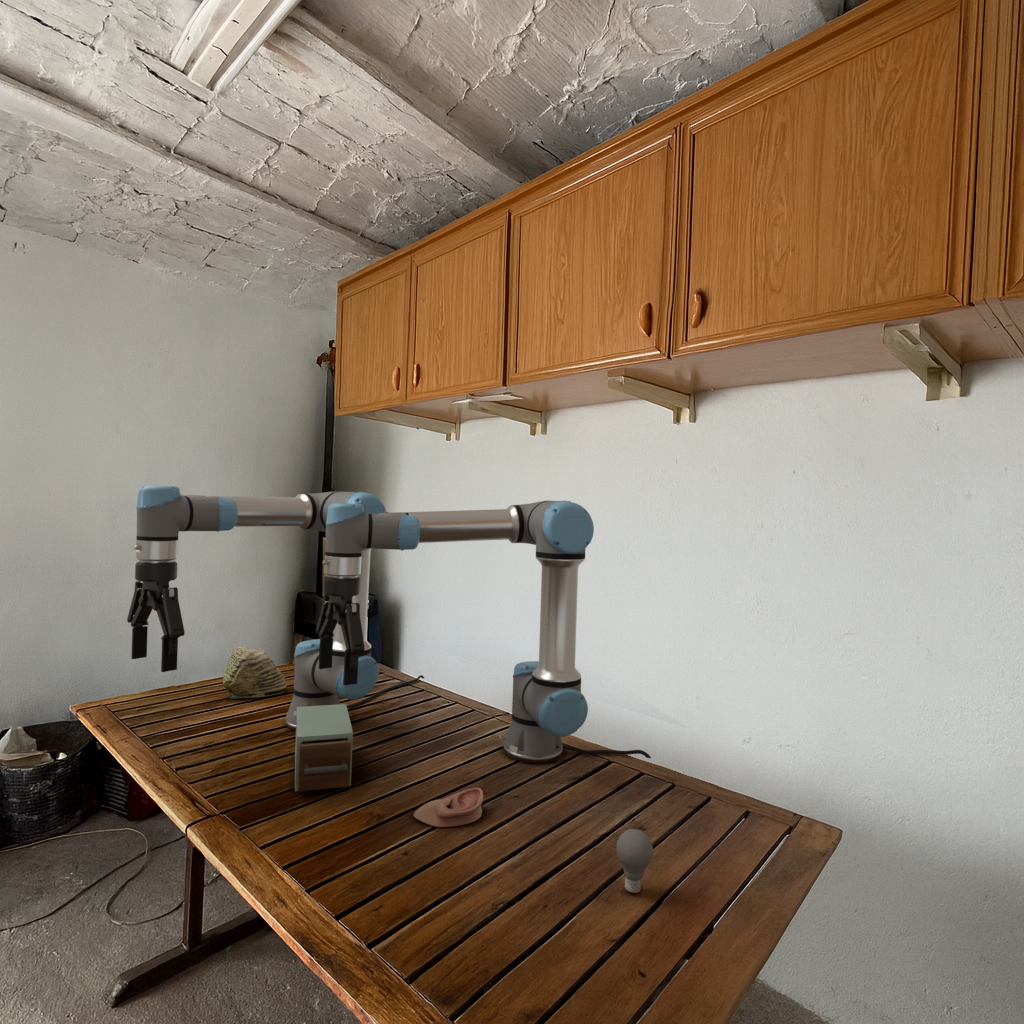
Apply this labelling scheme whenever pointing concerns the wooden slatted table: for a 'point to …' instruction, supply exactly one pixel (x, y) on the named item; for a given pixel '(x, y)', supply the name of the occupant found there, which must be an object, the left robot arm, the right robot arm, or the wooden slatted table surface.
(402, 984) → the wooden slatted table surface
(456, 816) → the anatomical model
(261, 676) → the fossil
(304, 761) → the drawer
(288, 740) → the wooden slatted table surface
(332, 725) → the cabinet
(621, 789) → the wooden slatted table surface
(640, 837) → the light bulb
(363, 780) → the wooden slatted table surface
